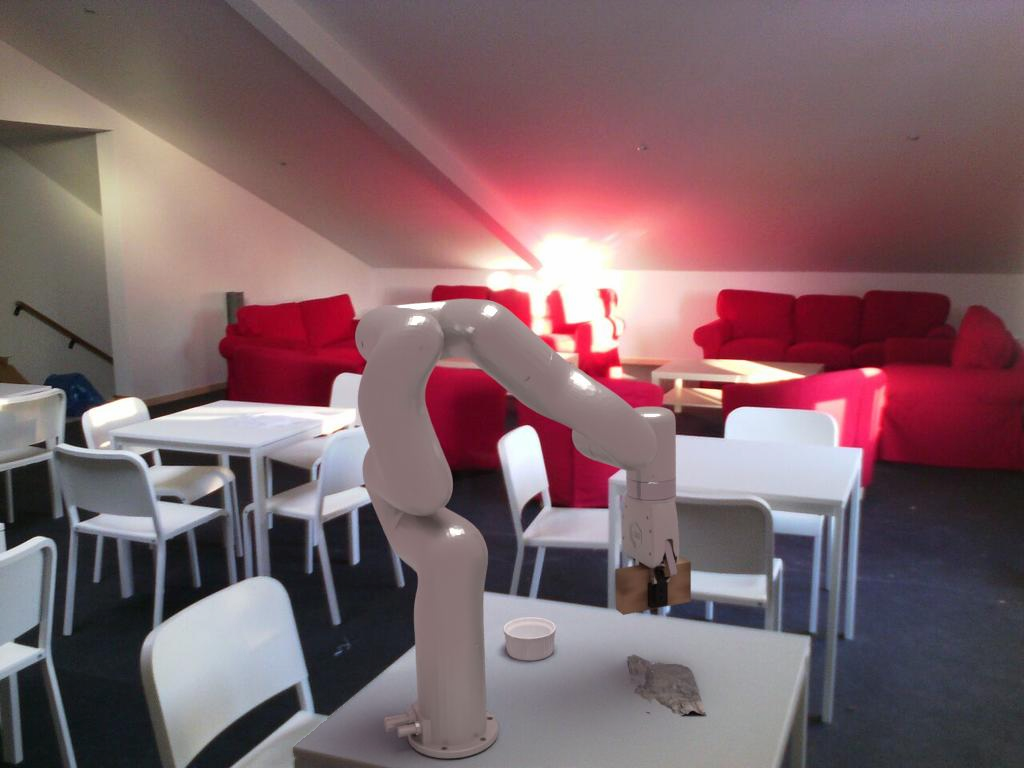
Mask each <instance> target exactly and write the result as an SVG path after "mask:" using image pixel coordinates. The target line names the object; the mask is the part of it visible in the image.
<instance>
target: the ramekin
mask: <svg viewBox="0 0 1024 768" xmlns="http://www.w3.org/2000/svg"><path fill="white" fill-rule="evenodd" d="M502 631H503V634H504V639H505V648H506V651H507V654H508V655H509V657H511V658H513V659H515V660H519V661H525V662H533V661H539V660H543V659H546V658H548V657H550V656H551V655H552V653H553V652H554V648H555V634H556V631H557V626H556V624H555V623H553V621H551V620H549V619H545V618H543V617H535V616H534V617H533V616H529V617H528V616H526V617H520V618H519V617H518V618H515V619H512V620H510V621H508V622H506V623H505V625H504V626H503V630H502Z"/></svg>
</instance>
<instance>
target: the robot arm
mask: <svg viewBox="0 0 1024 768" xmlns="http://www.w3.org/2000/svg"><path fill="white" fill-rule="evenodd" d="M359 320H360V321H358V324H357V326H356V329H355V335H354V337H355V338H354V339H355V345H356V348H357V350H358V352H359V354H360V355H361V357H362V358H363V359H364V360H365V361H366V364H365V367H364V370H363V372H362V375H361V379H360V382H359V387H358V390H357V392H358V393H357V408H358V413H359V417H360V418H359V419H360V421H361V425H362V428H363V431H364V433H365V436H366V439H367V442H368V445H369V448H368V449H367V450H366V453H365V455H364V457H363V461H362V479H363V483H364V485H365V488H366V493H367V494H368V496H369V499H370V501H371V504H372V506H373V508H374V511H375V513H376V517H377V518H378V520H379V523H380V525H381V527H382V529H383V532H384V534H385V536H386V538H387V541H388V543H389V545H390V548H392V550H393V552H394V553H395V554H396V556H397V557H399V559H401V560H402V561H403V562H404V563H405V564H406V565H407V566H408V567H410V568H411V569H412V570H413V571H414V572H416V575H417V589H416V593H415V599H414V605H413V606H414V608H413V624H414V625H413V626H414V627H413V629H414V646H415V647H414V648H415V670H416V671H415V672H416V693H417V695H416V696H417V700H415V701H412V702H411V709H410V710H406V711H405V714H399V715H397V714H395V715H392V716H386V717H384V718H383V726H384V730H385V733H390V732H394V731H395V732H396V733H397V737H398V738H404V737H407V739H408V742H409V744H410V746H411V747H412V748H413V749H414V750H415V751H417V752H419V753H421V754H422V755H425V756H428V757H431V758H437V759H460V758H465V757H469V756H473V755H475V754H479V753H481V752H483V751H484V750H486V749H488V748H489V747H491V746H492V745H493V744H494V743H495V742H496V740H497V737H499V736H498V735H499V722H498V720H497V718H496V717H495V716H494V715H493V714H492V713H490V712H489V711H488V710H487V689H486V688H487V686H486V654H485V653H486V652H485V626H484V625H485V624H484V623H485V621H484V620H485V619H484V612H485V611H484V599H485V598H484V596H485V584H486V577H487V570H488V562H489V556H488V555H489V552H488V547H487V543H486V541H485V539H484V536H483V534H482V533H481V532H480V530H479V529H478V528H477V527H476V526H475V525H474V524H473V523H472V522H470V521H469V520H468V519H466V518H465V517H463V516H462V515H460V514H458V513H456V512H454V511H452V510H450V509H449V508H447V507H446V505H447V504H448V503H449V502H450V499H451V497H452V493H453V489H454V488H453V487H454V483H453V482H454V481H453V475H452V471H451V468H450V465H449V463H448V461H447V459H446V455H445V453H444V451H443V449H442V447H441V444H440V441H439V438H438V436H437V434H436V431H435V428H434V425H433V424H432V421H431V417H430V414H429V411H428V407H427V405H426V390H427V389H426V388H427V384H428V381H429V380H430V379H429V378H430V376H431V374H432V372H433V370H434V369H435V368H436V366H437V364H438V362H439V361H443V360H449V359H456V358H458V359H463V360H469V361H471V362H472V363H473V364H474V365H476V366H477V367H478V368H479V369H481V370H482V371H483V372H484V373H485V374H486V375H488V376H489V377H491V378H492V379H493V380H495V381H496V382H497V383H498V384H499V385H500V386H502V387H503V389H505V390H506V391H507V392H509V394H510V395H512V396H513V397H514V398H515V399H516V400H517V401H519V402H520V403H521V404H523V405H524V406H526V407H527V408H529V409H530V410H532V411H534V412H536V413H537V414H539V415H541V416H542V417H546V418H548V419H550V420H553V421H555V422H557V423H560V424H562V425H563V426H566V427H567V428H569V429H572V431H571V438H572V442H573V443H572V444H573V445H574V447H575V449H576V450H577V451H578V452H579V453H580V454H581V455H583V456H584V457H586V458H588V459H590V460H592V461H596V462H599V463H602V464H605V465H609V466H612V467H615V468H618V469H620V470H623V471H625V477H626V478H625V479H626V480H625V481H626V484H625V487H626V493H625V497H624V504H623V511H622V512H623V514H622V535H621V536H622V537H621V538H622V540H621V541H622V542H621V543H622V544H621V546H622V550H623V551H624V552H625V554H627V555H628V556H629V557H631V558H632V559H633V561H634V566H635V565H641V564H644V565H646V566H647V567H649V568H650V583H648V607H650V608H656V609H658V608H657V607H661V608H663V607H662V606H666V605H667V604H668V582H669V580H670V577H671V576H673V575H677V568H676V563H677V562H678V558H680V557H679V556H680V536H679V535H680V533H679V522H678V521H679V520H678V519H679V518H678V513H677V505H676V499H677V467H676V466H677V461H676V460H677V443H676V440H677V439H676V438H677V437H676V436H677V432H676V429H677V428H676V427H677V426H676V425H677V424H676V416H675V414H674V412H673V411H672V410H671V409H669V408H666V407H661V406H639V407H634V408H633V407H632V406H631V405H630V404H629V403H628V402H627V401H625V400H624V399H623V398H621V397H620V396H619V395H618V394H617V393H615V392H614V391H612V390H611V389H610V388H608V387H606V386H605V385H603V384H602V383H600V381H597V380H595V378H593V377H591V376H590V375H588V374H587V373H585V372H584V371H583V370H581V369H580V368H579V367H576V366H575V365H574V364H572V363H570V362H569V361H568V360H567V359H565V358H563V357H562V356H561V355H560V354H559V353H558V352H557V351H555V350H554V349H553V348H552V347H551V346H550V345H549V344H548V343H547V342H545V341H544V340H543V339H542V338H541V337H540V336H538V335H537V334H536V333H535V332H534V331H533V330H532V329H531V328H530V327H529V326H527V325H526V324H525V323H524V322H523V321H522V320H521V319H520V318H519V317H517V316H516V315H515V314H514V313H513V312H512V311H511V310H509V309H508V308H507V307H506V306H503V305H502V304H500V303H498V302H495V301H493V300H488V299H474V298H455V299H454V298H453V299H446V300H439V301H429V302H428V301H427V302H415V303H414V302H412V303H405V304H389V305H381V306H377V307H375V308H372V309H370V310H369V311H368V312H367V313H365V314H364V315H363V316H362V317H361V319H359ZM661 567H662V570H659V571H658V572H657V569H656V568H661ZM666 607H667V606H666Z"/></svg>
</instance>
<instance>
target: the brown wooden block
mask: <svg viewBox="0 0 1024 768" xmlns="http://www.w3.org/2000/svg"><path fill="white" fill-rule="evenodd" d="M676 568H677V575H673V576H671V577H670V580H669V582H668V604H667V605H666V606H662V607H657V608H650V607H648V583H650V568H649V567H647V566H646V565H644V564H641V565H635V564H634V565H631V566H625V567H624V566H623V567H620V568H615V573H614V575H615V580H614V581H615V584H614V585H615V610H616V611H618V613H620V614H622V615H623V616H624V615H630V614H635V613H640V612H646V611H649V610H654V609H655V610H656V609H659V608H661V609H662V608H665V607H671V606H675V605H679V604H680V605H681V604H686V603H690V602H691V601H692V591H691V590H692V589H691V588H692V583H691V582H692V573H691V572H692V562H691V561H690V560H688V559H687V558H685V557H683V556H681V557H679V558H678V562H677V563H676ZM656 569H657V572H658V571H659V570H662V567H661V568H656Z"/></svg>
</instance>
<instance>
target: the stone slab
mask: <svg viewBox="0 0 1024 768" xmlns="http://www.w3.org/2000/svg"><path fill="white" fill-rule="evenodd" d="M626 657H627V663H628V670H629V674H630V675H631V676H638V677H641V676H643V675H645V683H644V684H642V683H641V682H638V684H637V686H636V687H635V690H634V694H635V695H638V696H639V695H640V697H641V698H643V700H646V701H647V702H649V703H652V701H653V699H654V700H656V701H657V702H658V703H659V704H660V705H661V706H665V707H666V708H667V709H670V710H671V712H672V713H673V714H674V715H678V714H679V716H680V717H682V716H684V715H688V714H689V713H690V712H695V713H696V714H700V715H701V716H707V714H706V712H705V707H704V705H703V701H702V698H701V695H700V692H699V688H698V686H697V683H696V678H695V677H694V674H693V671H692V670H691V669H690V668H689V667H688V666H685V665H683V664H677V663H662V662H655V663H652V662H651V661H649V660H648V659H644V658H643V657H641V656H639V655H637V654H635V653H634V654H632V655H630V656H629V655H628V656H626ZM630 679H631V683H634V678H630ZM700 708H701V709H700ZM645 714H650V715H651V712H650V711H645Z"/></svg>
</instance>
